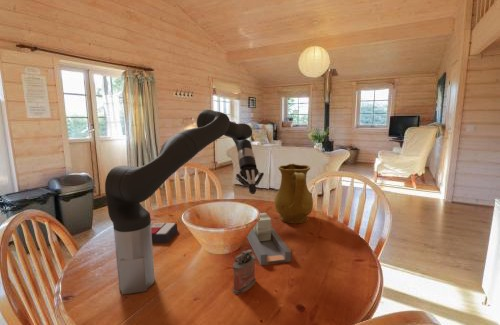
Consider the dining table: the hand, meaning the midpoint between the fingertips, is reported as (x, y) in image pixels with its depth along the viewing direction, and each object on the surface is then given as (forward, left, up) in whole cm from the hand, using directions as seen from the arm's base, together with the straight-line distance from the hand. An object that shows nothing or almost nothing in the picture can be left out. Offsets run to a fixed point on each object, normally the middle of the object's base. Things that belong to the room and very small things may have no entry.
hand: (253, 193), depth 114 cm
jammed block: (-15, 0, -13) cm, 20 cm away
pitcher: (+2, -19, -14) cm, 24 cm away
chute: (-18, 0, -14) cm, 23 cm away
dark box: (-2, +40, -15) cm, 43 cm away
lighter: (-41, +12, -14) cm, 45 cm away
